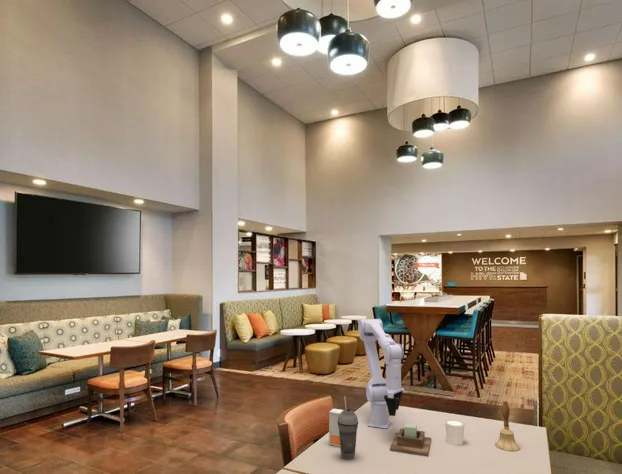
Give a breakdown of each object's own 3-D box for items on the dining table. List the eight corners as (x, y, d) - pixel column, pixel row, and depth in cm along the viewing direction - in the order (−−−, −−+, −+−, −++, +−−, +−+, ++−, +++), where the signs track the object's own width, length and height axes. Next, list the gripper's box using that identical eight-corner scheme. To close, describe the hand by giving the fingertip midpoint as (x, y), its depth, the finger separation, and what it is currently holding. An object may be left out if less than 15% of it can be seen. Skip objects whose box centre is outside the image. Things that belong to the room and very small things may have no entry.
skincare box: (328, 445, 153) (328, 411, 154) (333, 441, 157) (333, 408, 158) (343, 448, 150) (343, 413, 151) (348, 444, 154) (348, 410, 155)
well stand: (396, 435, 162) (396, 424, 163) (431, 440, 158) (431, 429, 158) (389, 450, 148) (389, 438, 149) (427, 456, 144) (427, 444, 144)
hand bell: (495, 449, 150) (494, 403, 152) (494, 440, 158) (493, 397, 159) (521, 452, 147) (519, 406, 149) (518, 444, 155) (517, 399, 157)
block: (405, 439, 156) (405, 423, 156) (416, 441, 154) (416, 424, 155) (404, 443, 152) (404, 426, 152) (415, 445, 151) (415, 428, 151)
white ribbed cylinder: (442, 442, 156) (441, 423, 157) (450, 437, 161) (449, 418, 162) (460, 447, 151) (459, 427, 152) (467, 442, 156) (467, 422, 157)
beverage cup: (352, 463, 138) (352, 401, 140) (333, 458, 142) (333, 397, 143) (362, 455, 144) (361, 395, 146) (343, 450, 148) (343, 392, 150)
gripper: (401, 381, 154) (401, 419, 153) (406, 373, 168) (406, 408, 166) (382, 379, 156) (382, 417, 155) (388, 371, 170) (389, 405, 169)
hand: (393, 412), depth 161 cm, fingers open, 7 cm apart
